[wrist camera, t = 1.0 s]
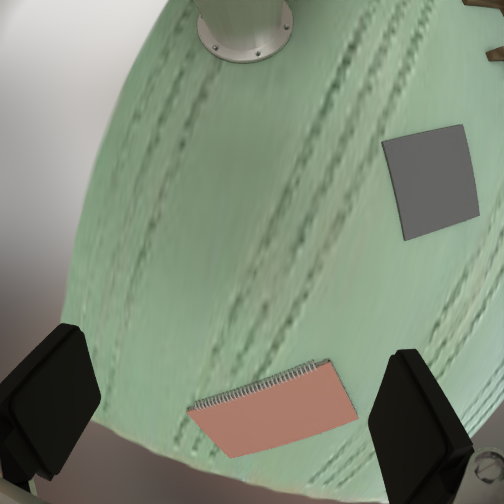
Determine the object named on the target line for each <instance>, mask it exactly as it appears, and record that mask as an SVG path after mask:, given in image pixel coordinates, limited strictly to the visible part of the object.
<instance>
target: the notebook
mask: <svg viewBox="0 0 504 504" xmlns="http://www.w3.org/2000/svg"><path fill="white" fill-rule="evenodd" d="M312 364H313V365H310V364H309V361H308V367H305V363H304V364H303V366H304V368H303V369H301V365H299V368H300V370H298V371H297V366H296V367H295V370H296V371H295V372H293V368H291V372H292V373H290V374H289V370H287V374H288V375H285V371H283V376H282V377H281V373H279V378H277V374H276V375H275V379H274V380H273V376H271V381H269V377H268V378H267V382H266V383H265V379H263V384H261V380H260V381H259V385H258V386H257V381H256V383H255V385H256V386H255V387H253V383H252V388H249V385H250V384H248V389H245V387H246V385H245V386H244V390H243V391H242V387H241V388H240V392H238V388H237V390H236V391H237V393H234V390H235V389H234V390H233V394H231V390H230V391H229V395H228V396H227V392H228V391H227V392H226V396H225V397H223V394H224V393H222V398H220V394H219V396H218V397H219V398H218V399H216V396H217V395H216V396H215V400H213V397H214V396H212V398H211V399H212V401H210V400H209V399H210V397H209V398H208V402H206V399H207V398H206V399H205V403H203V400H204V399H202V401H201V403H202V404H199V402H200V400H199V401H198V405H196V402H197V401H196V402H195V406H191V407H190V408H189V410H188V411H186V412H187V413H188V415H189V416H190V417H191V418H192V419H193V420H194V421H195V422H196V424H197V425H198V426H199V427H200V428H201V429H202V430H203V431H204V432H205V433H206V434H207V435H208V436H209V437H210V439H211V440H212V441H213V442H214V443H215V444H216V445H217V446H218V447H219V448H220V449H221V450H222V451H223V452H224V453H225V454H226V455H227V456H228V457H229V458H235V457H239V456H243V455H248V454H252V453H256V452H260V451H264V450H267V449H271V448H275V447H278V446H282V445H285V444H289V443H292V442H295V441H298V440H302V439H305V438H308V437H311V436H314V435H317V434H320V433H322V432H325V431H328V430H331V429H334V428H336V427H339V426H342V425H344V424H347V423H349V422H352V421H354V420H357V419H359V418H358V416H357V413H356V411H355V409H354V407H353V405H352V403H351V401H350V399H349V397H348V395H347V393H346V391H345V389H344V387H343V385H342V383H341V381H340V379H339V377H338V375H337V373H336V371H335V369H334V367H333V365H332V363H331V361H330V362H329V361H328V359H324V360H322V361H320V362H317V363H315V364H314V361H313V360H312Z"/></svg>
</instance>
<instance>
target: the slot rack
mask: <svg viewBox="0 0 504 504" xmlns="http://www.w3.org/2000/svg"><path fill="white" fill-rule="evenodd" d="M462 1H463V3H464V5H471V6H481V7H490V8H497V9H500V10H501V12H502V14H503V16H504V0H462ZM486 55H487V58H488V60H489V61H504V46H502V47H499V48H497V49H494V50H491V51H489V52H486Z"/></svg>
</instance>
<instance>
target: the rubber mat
mask: <svg viewBox="0 0 504 504" xmlns="http://www.w3.org/2000/svg"><path fill="white" fill-rule="evenodd" d="M381 143H382V146H383V150H384V153H385V157H386V161H387V164H388V168H389V172H390V176H391V180H392V184H393V189H394V193H395V197H396V202H397V207H398V211H399V216H400V221H401V226H402V232H403V237H404V240H405V241H407V240H410V239H413V238H416V237H419V236H422V235H425V234H428V233H431V232H434V231H437V230H440V229H443V228H446V227H449V226H452V225H454V224H457V223H460V222H463V221H466V220H469V219H472V218H475V217H477V216H480V213H479V205H478V197H477V191H476V184H475V178H474V173H473V167H472V162H471V157H470V152H469V148H468V143H467V139H466V135H465V131H464V127H463V124H462V125H456V126H451V127H446V128H441V129H436V130H432V131H427V132H422V133H418V134H413V135H409V136H404V137H400V138H396V139H392V140H388V141H383V142H381Z"/></svg>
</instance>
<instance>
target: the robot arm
mask: <svg viewBox="0 0 504 504" xmlns="http://www.w3.org/2000/svg"><path fill="white" fill-rule="evenodd" d="M194 2H195V4H196V6H197V8H198V10H199V12H200V13H199V16H198V20H197V31H198V35H199V37H200V39H201V41H202V43H203V44H204V46H205V47H206V48H207V49H208V50H209V51H210V52H211V53H212V54H214V55H215V56H217V57H218V58H221V59H223V60H226V61H230V62H234V63H252V62H257V61H261V60H264V59H266V58H269V57H271V56H272V55H274V54H276V53H277V52H279V51H280V50H281V49H282V48H283V47H284V46H285V44H286V43H287V41H288V40H289V38H290V35H291V33H292V29H293V16H292V12H291V10H290V8H289V6H288V4H287V3H286V2H285V0H194ZM285 28H287V29H288V30H285ZM216 48H218V50H217V51H215V49H216ZM257 54H259V55H260V56H259V57H257V56H256V55H257ZM100 401H101V394H100V390H99V387H98V384H97V380H96V377H95V373H94V370H93V366H92V363H91V359H90V355H89V351H88V347H87V343H86V339H85V335H84V333H83V332H82V331H81V330H80V328H79V327H78V326H76V325H71V324H66V323H61V324H60V325H58V326H57V327H56V328H55V329H54V330H53V331H52V332H51V333H50V334H49V335H48V336H47V337H46V338H45V339H44V340H43V341H42V342H41V343H40V344H39V345H38V346H37V347H36V348H35V349H34V350H33V351H32V352H31V353H30V354H29V355H28V356H27V357H26V358H25V359H24V360H23V361H22V362H21V363H20V364H19V365H18V366H17V367H16V368H15V369H14V370H13V371H12V372H11V373H10V374H9V375H8V376H7V377H6V378H5V379H4V380H3V381H2V382H1V384H0V504H51V503H49V502H46V501H44V500H42V499H40V498H38V496H37V492H36V488H35V484H34V480H33V476H34V475H35V473H36V474H37V475H38V476H40V477H42V478H45V479H47V480H49V481H51V480H52V478H53V476H54V475H57V474H59V473H60V471H61V469H62V467H63V465H64V464H65V462H66V460H67V459H68V457H69V455H70V453H71V452H72V450H73V448H74V446H75V444H76V443H77V441H78V439H79V438H80V436H81V434H82V432H83V431H84V429H85V427H86V425H87V424H88V422H89V421H90V419H91V417H92V416H93V414H94V412H95V411H96V409H97V407H98V406H99V404H100ZM368 427H369V430H370V434H371V437H372V441H373V444H374V448H375V451H376V455H377V458H378V462H379V466H380V469H381V473H382V477H383V480H384V484H385V488H386V492H387V496H388V500H389V504H504V452H503V451H501V450H499V449H497V448H492V447H484V448H481V449H479V450H476V451H474V449H473V447H472V446H473V443H472V441H471V440H470V438H469V436H468V434H467V432H466V430H465V429H464V427H463V425H462V423H461V422H460V420H459V418H458V416H457V414H456V413H455V411H454V409H453V408H452V406H451V404H450V402H449V401H448V399H447V397H446V396H445V394H444V392H443V391H442V389H441V387H440V386H439V384H438V382H437V381H436V379H435V378H434V376H433V374H432V373H431V371H430V369H429V368H428V366H427V365H426V363H425V362H424V360H423V358H422V357H421V355H420V354H419V352H418V351H417V350H416V349H402V350H397V352H396V353H395V355H391V357H390V359H389V362H388V365H387V368H386V371H385V374H384V377H383V380H382V383H381V386H380V388H379V391H378V394H377V397H376V399H375V402H374V405H373V407H372V410H371V413H370V415H369V419H368Z"/></svg>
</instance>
